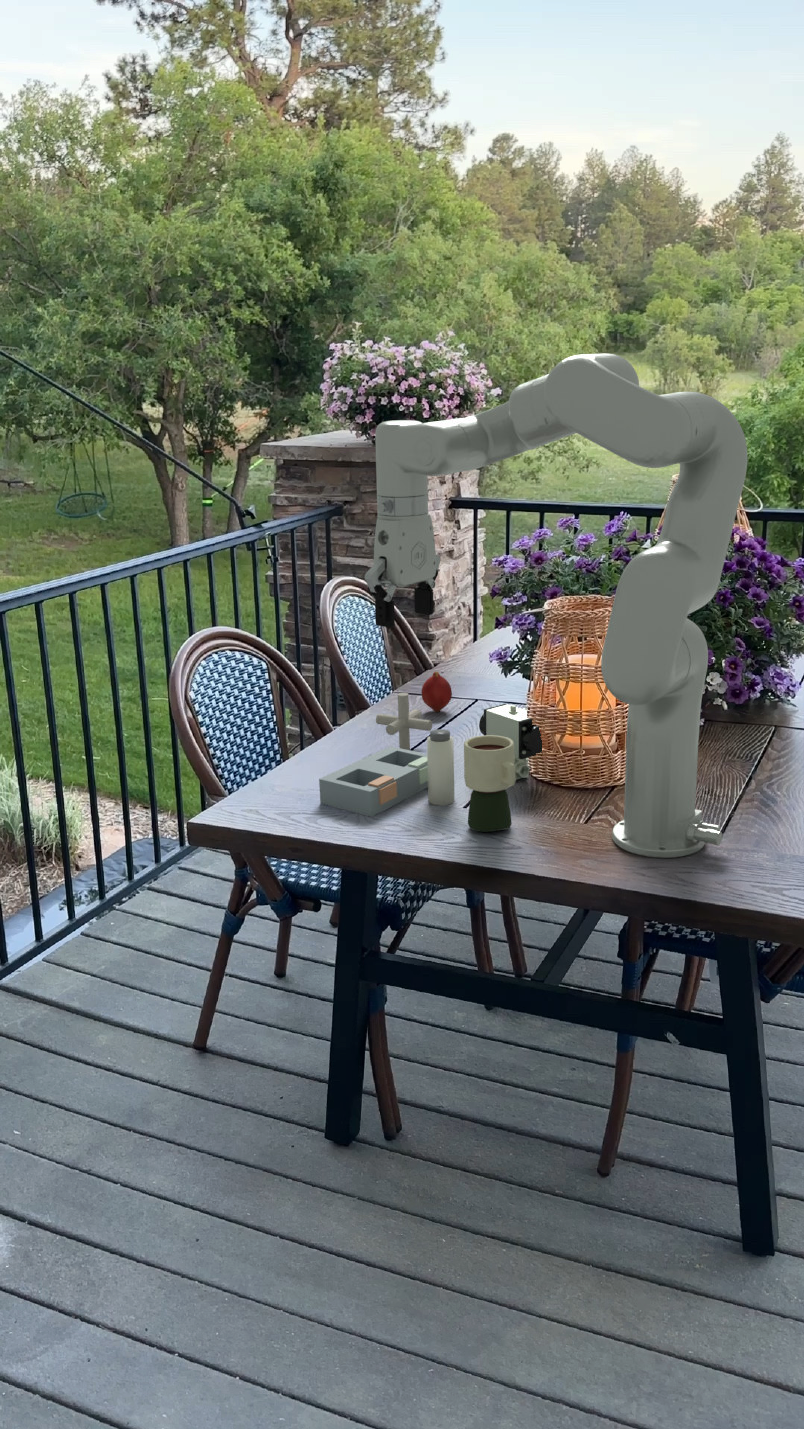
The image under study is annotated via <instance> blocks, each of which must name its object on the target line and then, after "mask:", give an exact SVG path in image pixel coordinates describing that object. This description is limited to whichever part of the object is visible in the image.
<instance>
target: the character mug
mask: <svg viewBox="0 0 804 1429" xmlns="http://www.w3.org/2000/svg"><path fill="white" fill-rule="evenodd" d="M514 762H515V756H514V743H513V741H512V740H511V739H510V738H507V737H503V736H494V735H485V736H484V735H478V736H472V737H471V738H470V737H469V738H468V739H466V740H465V741H464V742H463V764H464V765H463V767H464V768H463V769H464V772H463V773H464V776H463V777H464V782H465V787H467V788H468V789H469V790H472V791H471V794H470V799H469V805H468V813H467V814H468V815H467V817H468V818H467V824H468V827H469V828H470V829H472V830H474V831H475V832H485V833H487V832H498V831H502V830H506V829H509V828H511V826H512V825H513V823H512V813H511V807H510V800H509V794H508V792H507V790H508V788H511V787H514V786H515V785H516V781H515V765H514ZM506 789H507V790H506Z"/></svg>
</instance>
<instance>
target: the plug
mask: <svg viewBox="0 0 804 1429" xmlns="http://www.w3.org/2000/svg"><path fill="white" fill-rule="evenodd" d="M454 748H455V747H454V737H453V736H452V735H451V731H450V730H448V729H443V728H441V729H433V730H430V731H429V736H428V737H427V738H426V754H427V763H428V788H427V794H428V795H427V796H428V803H429V804H430V805H434V806H448V805H451V804H453V803H455V800H456V799H455V758H454V757H455V754H454V752H455V750H454Z"/></svg>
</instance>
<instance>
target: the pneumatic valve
mask: <svg viewBox="0 0 804 1429" xmlns="http://www.w3.org/2000/svg"><path fill="white" fill-rule="evenodd" d="M527 711H528V710H527V709H526V708H525V707H524V708H519V707H517V705H514V704H508V703H502V704H498V705H496V706H491V707H488V708H484V709H483V713H482V715H481V717H480V719H479V722H478V726H479V727H478V729H479V731H480V733H481V734H482V736H485V735H494V736H503V737H507V738H510V739H511V740H512V741H513V743H514V756H515V762H514V765H515V782H516V781H517V780H519V779H526V778H528V777H529V773H530V767H529V764H528V763H529V759H528V758H531V757H534V756H537V755H536V753H540V752H541V751H542V740H541V737H540V736H541V734H540V731H539V726H536V725H532V719H530V718H527Z"/></svg>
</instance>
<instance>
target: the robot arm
mask: <svg viewBox="0 0 804 1429" xmlns="http://www.w3.org/2000/svg"><path fill="white" fill-rule="evenodd" d="M575 434H576V435H577V434H578V435H579V436H581V437H583V438H585V439H587V440H589V441H590V442H592V443H594V444H595V445H598V447H602V448H603V449H605V450H607V451H609V452H611V453H613V454H614V455H616V456H618V457H620V458H622V459H624V460H626V461H628V462H630V463H632V464H634V465H636V466H640V467H643V468H648V469H660V468H666V467H669V466H673V465H674V466H675V465H677V464H679V473H678V477H677V479H676V481H675V483H674V486H673V488H672V490H671V492H670V495H669V498H668V502H667V504H666V508H665V509H666V511H665V513H664V514H665V516H664V518H663V519H664V520H663V524H662V527H661V530H660V534H659V537H658V540H657V543H656V544H655V545H654V546H652V547H649V548H646V549H644V550H643V551H641V552H639V553H638V554H636V555H635V556H634V557H633V558H632V559H631V560H629V562H628V564H626V567H625V568H624V570H623V571H622V573H621V575H620V578H619V580H618V584H617V586H616V590H615V594H614V599H613V604H612V608H611V613H610V616H609V619H608V620H609V621H608V626H607V630H606V635H605V637H604V642H603V643H604V644H603V648H602V652H601V660H600V661H601V662H600V666H601V667H600V668H601V669H600V670H601V675H602V680H603V682H604V684H605V686H606V688H607V690H608V692H610V694H611V695H612V696H613V697H614V698H616V699H617V700H618V701H620V702H621V703H624V704H627V705H628V708H627V710H628V711H627V719H626V737H625V738H626V741H625V742H626V743H625V747H626V748H625V771H624V772H625V773H624V774H625V776H624V778H625V780H624V781H625V782H624V810H623V811H624V812H623V820H621V821H619V822H618V823H615V825H614V826H613V827H612V833H611V834H612V835H611V836H612V840H613V842H614V844H616V845H617V846H618V847H620V848H621V849H622V850H624V851H626V852H629V853H632V854H636V855H639V856H644V857H651V858H662V859H663V858H664V859H665V858H667V859H668V858H678V857H685V856H688V855H692V854H694V853H697V852H698V851H700V850H701V849H702V848H703V847H704V846H705V844H708V845H714V846H720V845H721V843H722V840H723V833H722V831H721V826H720V825H718V824H713V823H709V822H708V823H707V822H705V820H703V818H702V817H703V811H702V810H700V809H696V800H697V798H696V795H697V778H698V775H697V774H698V756H699V755H698V754H699V736H700V720H701V709H702V708H701V707H702V698H703V691H704V688H705V687H704V686H705V681H706V676H707V672H708V663H709V650H708V649H709V648H708V643H707V640H706V638H705V635H704V633H703V631H702V630H701V628H700V627H699V626H698V625H697V624H696V623H695V622H694V621H692V620H691V619H689V618H688V615H690V614H692V613H694V612H695V611H697V610H699V609H701V608H702V607H703V608H704V607H705V606H706V605H707V604H708V603H709V602H710V601H711V600H712V599H713V598H714V596H715V595H716V593H717V591H718V589H719V585H720V582H721V577H722V573H723V569H724V565H725V560H726V557H727V553H728V548H729V544H730V541H731V537H732V533H733V528H734V524H735V519H736V515H737V510H738V507H739V504H740V500H741V496H742V492H743V489H744V485H745V479H746V474H747V470H748V469H747V468H748V447H747V440H746V436H745V433H744V431H743V429H742V426H741V424H740V423H739V421H738V419H737V417H735V415H734V414H733V412H732V411H731V410H730V409H729V408H728V407H727V406H726V405H725V404H723V403H722V402H721V401H719V400H718V399H716V398H715V397H713V396H710V395H708V394H705V393H701V392H699V391H698V392H697V391H696V392H695V391H679V392H671V393H665V394H664V393H663V394H657V393H654V392H652V391H650V390H648V389H646V388H644V387H642V386H640V381H639V376H638V374H637V371H636V369H635V368H634V367H633V365H632V363H630V361H628V360H627V359H625V358H624V357H622V356H620V355H618V354H613V353H605V352H603V353H587V354H586V353H585V354H583V353H582V354H576V355H571V356H569V357H566V358H564V359H563V360H561V361H559V363H557V364H556V365H555V366H554V367H553V368H552V369H551V370H550V372H549V373H548V374H545V375H542V376H540V377H537V378H533V379H531V380H529V381H527V382H524V383H521V384H519V385H517V386H516V387H515V388H514V389H512V391H511V393H510V395H509V398H508V401H506V402H504V403H501V404H499V405H497V406H495V407H492V408H490V409H487V410H485V411H482V412H479V413H477V414H473V415H471V416H467V417H461V418H457V417H456V418H450V419H443V420H438V421H437V420H435V421H430V422H421V421H419V420H411V419H407V420H405V419H399V420H386V421H382V422H381V423H379V424H378V425H377V427H376V428H375V471H376V472H375V473H376V502H377V503H376V505H377V506H376V507H377V511H376V512H377V518H376V523H375V524H376V525H375V530H374V531H375V532H374V545H373V565H372V566H371V567H370V568H369V569H368V571H366V573H365V574H364V580H365V582H366V585H367V590H368V592H369V593H370V595H371V598H372V600H373V601H374V607H375V608H374V609H375V610H374V612H375V613H374V615H375V618H374V619H375V625H376V626H377V627H378V626H379V627H384V628H390V629H391V628H394V627H395V624H396V619H395V617H396V616H395V601H394V600H392V598H393V596H394V594H395V592H396V589H397V587H398V588H405V587H409V586H413V585H416V587H414V589H413V590H414V591H413V592H414V594H413V595H414V597H413V598H414V613H416V614H419V615H427V616H431V615H434V589H435V587H436V579H437V577H438V575H439V568H440V563H441V556H439V555H438V554H437V552H436V541H435V540H436V539H435V532H434V525H433V521H432V520H433V519H432V517H431V514H430V513H429V494H428V492H429V490H428V489H429V486H428V482H429V480H428V479H429V478H428V477H442V476H447V475H453V474H456V473H461V472H468V471H469V472H470V471H474V470H477V469H480V468H483V467H487V466H489V465H492V464H495V463H497V462H501V461H504V460H506V459H507V460H508V459H510V458H512V457H514V456H518V455H520V454H523V453H525V452H528V451H533V450H536V449H537V448H539V447H543V446H546V445H549V444H551V443H554V442H557V441H559V440H561V439H563V438H564V439H565V438H567V437H569V436H572V435H575ZM385 587H387V588H386V590H385V589H384V588H385Z"/></svg>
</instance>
